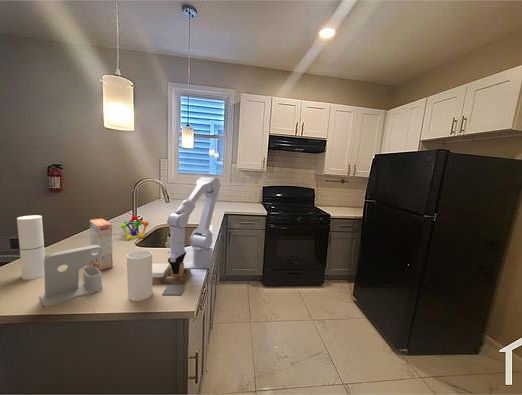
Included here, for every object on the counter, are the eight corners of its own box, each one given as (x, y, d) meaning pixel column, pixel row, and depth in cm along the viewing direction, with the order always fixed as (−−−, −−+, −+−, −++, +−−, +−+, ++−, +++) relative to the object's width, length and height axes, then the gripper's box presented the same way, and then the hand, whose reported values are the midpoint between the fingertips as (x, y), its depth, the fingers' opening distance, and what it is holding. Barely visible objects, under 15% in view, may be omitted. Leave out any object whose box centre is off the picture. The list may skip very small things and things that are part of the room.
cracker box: (113, 267, 108) (112, 223, 105) (98, 271, 104) (96, 225, 101) (105, 258, 117) (103, 217, 115) (90, 261, 113) (88, 219, 110)
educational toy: (140, 234, 160) (142, 213, 159) (148, 239, 152) (150, 216, 150) (115, 236, 149) (117, 213, 148) (122, 242, 140) (124, 217, 139)
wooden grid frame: (190, 272, 107) (190, 267, 106) (185, 284, 97) (185, 278, 96) (150, 272, 105) (150, 267, 105) (140, 283, 95) (140, 277, 95)
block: (184, 275, 104) (184, 263, 103) (181, 280, 99) (181, 267, 98) (173, 275, 103) (173, 262, 103) (170, 280, 99) (170, 267, 98)
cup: (134, 288, 91) (133, 249, 89) (155, 288, 92) (155, 250, 90) (123, 301, 83) (122, 258, 81) (147, 301, 84) (146, 258, 82)
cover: (170, 267, 105) (170, 263, 105) (163, 277, 96) (163, 272, 96) (149, 267, 104) (149, 263, 104) (140, 277, 95) (140, 272, 95)
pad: (185, 285, 95) (185, 284, 95) (180, 295, 88) (180, 294, 88) (167, 285, 95) (167, 284, 95) (162, 295, 88) (162, 294, 88)
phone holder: (97, 279, 97) (95, 238, 94) (104, 289, 90) (102, 244, 88) (39, 295, 84) (35, 248, 81) (43, 308, 77) (39, 256, 74)
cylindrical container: (19, 281, 92) (13, 219, 89) (26, 273, 99) (21, 215, 95) (42, 277, 96) (38, 218, 92) (48, 270, 102) (44, 214, 98)
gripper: (173, 235, 106) (173, 263, 108) (162, 246, 92) (162, 279, 93) (188, 236, 106) (188, 264, 108) (180, 247, 92) (180, 279, 94)
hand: (177, 271), depth 101 cm, fingers closed on block, 4 cm apart
